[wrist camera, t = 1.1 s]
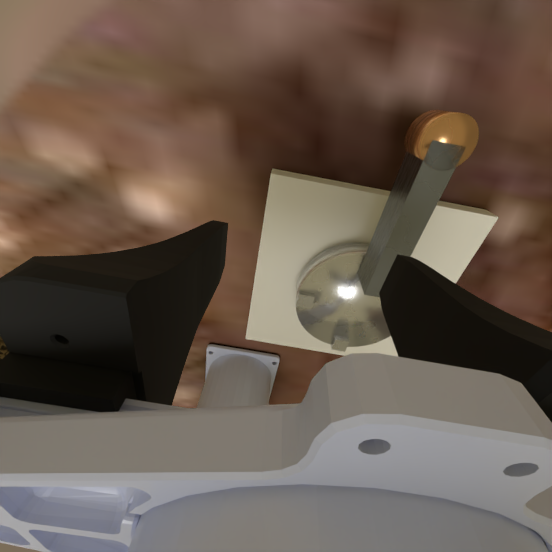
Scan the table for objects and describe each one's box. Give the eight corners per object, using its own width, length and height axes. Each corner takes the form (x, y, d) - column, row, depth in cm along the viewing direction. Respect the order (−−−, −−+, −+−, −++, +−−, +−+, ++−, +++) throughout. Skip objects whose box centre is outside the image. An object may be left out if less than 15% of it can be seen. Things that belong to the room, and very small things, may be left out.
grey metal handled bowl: (382, 337, 26) (397, 380, 22) (286, 321, 25) (284, 362, 22) (498, 123, 16) (562, 133, 12) (346, 92, 16) (362, 92, 12)
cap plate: (397, 353, 29) (402, 366, 28) (247, 328, 29) (245, 339, 27) (486, 209, 20) (499, 218, 19) (272, 168, 20) (270, 173, 19)
